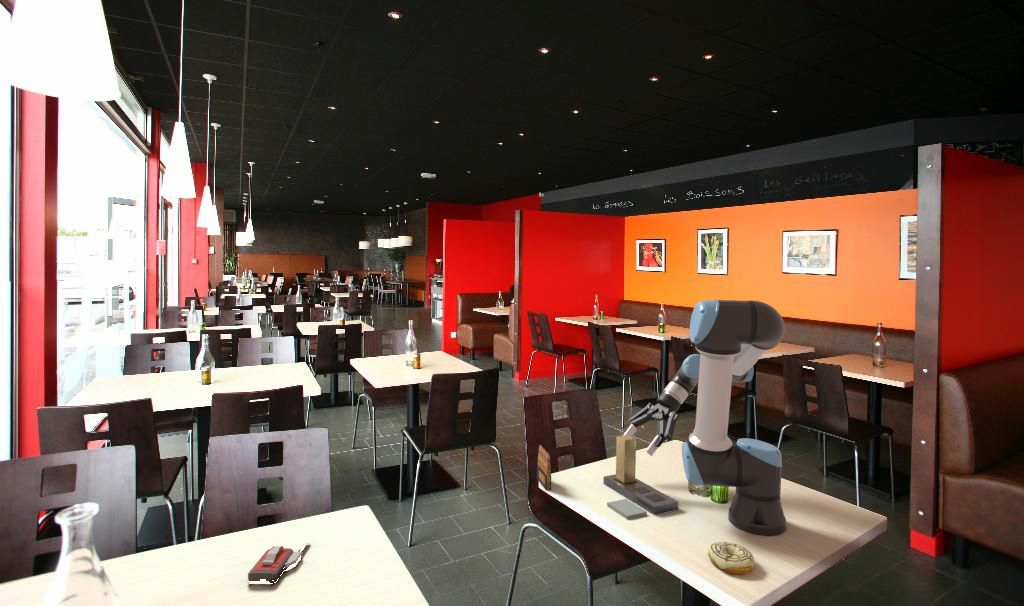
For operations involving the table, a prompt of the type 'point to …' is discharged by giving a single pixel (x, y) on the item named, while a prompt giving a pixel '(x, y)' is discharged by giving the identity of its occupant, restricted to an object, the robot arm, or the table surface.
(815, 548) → the table surface
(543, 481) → the brown upright box
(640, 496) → the dark square socket tray
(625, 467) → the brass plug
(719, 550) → the decorated donut
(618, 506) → the rubber mat
